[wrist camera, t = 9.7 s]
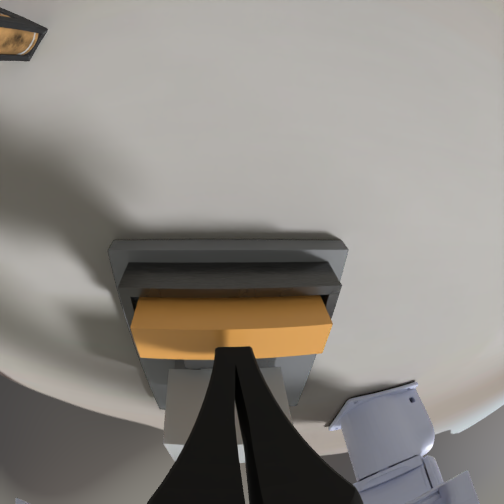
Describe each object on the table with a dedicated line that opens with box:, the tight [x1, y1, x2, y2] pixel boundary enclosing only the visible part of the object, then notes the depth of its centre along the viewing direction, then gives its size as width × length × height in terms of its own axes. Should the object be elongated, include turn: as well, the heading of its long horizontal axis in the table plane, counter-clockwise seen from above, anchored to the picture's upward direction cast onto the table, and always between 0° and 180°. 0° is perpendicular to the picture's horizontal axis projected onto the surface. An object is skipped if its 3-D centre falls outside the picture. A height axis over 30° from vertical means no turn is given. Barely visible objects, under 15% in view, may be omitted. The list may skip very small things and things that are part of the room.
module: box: [163, 359, 293, 463], centre depth 16 cm, size 7×4×6 cm, turn 86°
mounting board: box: [108, 239, 348, 410], centre depth 18 cm, size 12×16×1 cm
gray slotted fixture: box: [118, 262, 342, 370], centre depth 16 cm, size 10×14×2 cm
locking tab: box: [130, 295, 333, 360], centre depth 12 cm, size 8×2×2 cm, turn 86°
